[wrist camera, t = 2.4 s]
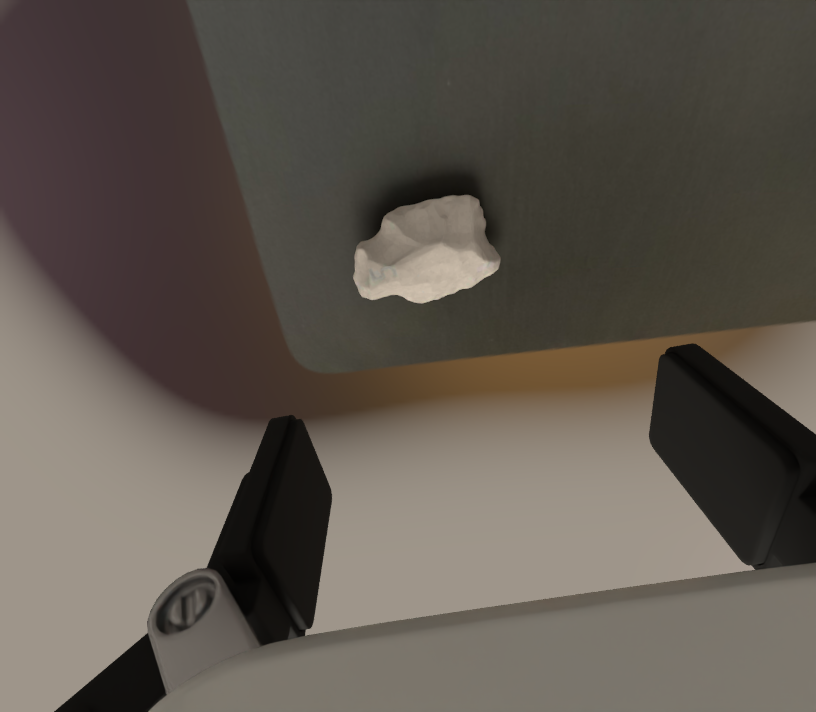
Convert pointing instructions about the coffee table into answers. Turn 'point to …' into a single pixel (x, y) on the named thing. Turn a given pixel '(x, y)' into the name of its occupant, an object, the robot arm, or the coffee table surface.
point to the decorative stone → (426, 251)
